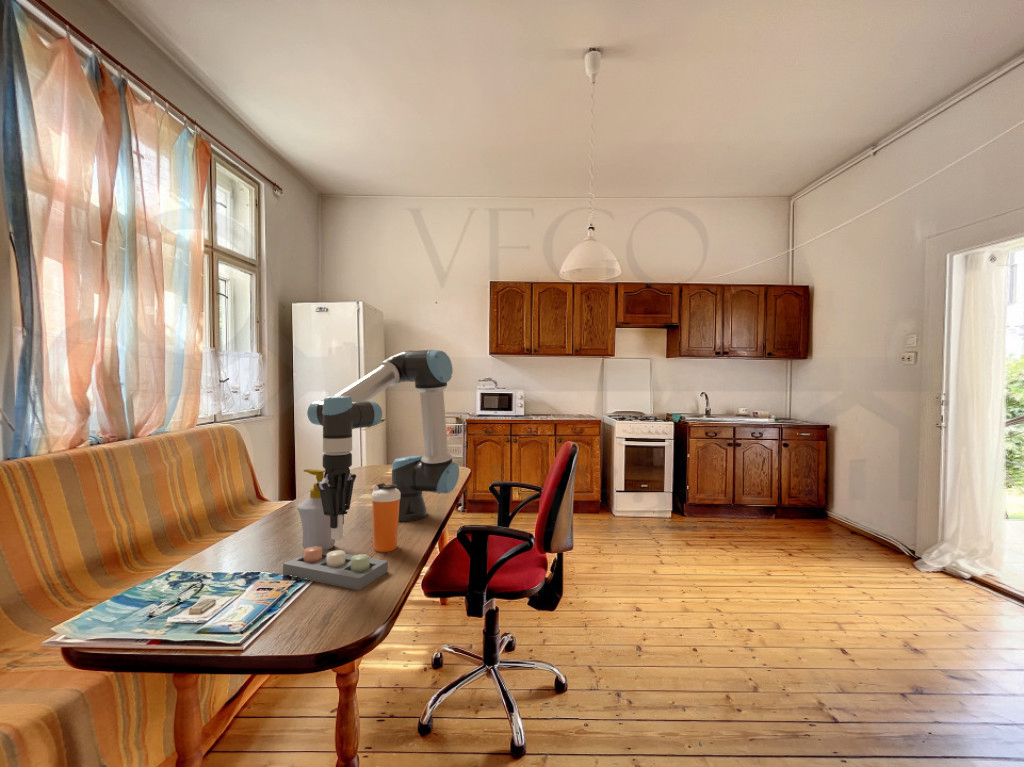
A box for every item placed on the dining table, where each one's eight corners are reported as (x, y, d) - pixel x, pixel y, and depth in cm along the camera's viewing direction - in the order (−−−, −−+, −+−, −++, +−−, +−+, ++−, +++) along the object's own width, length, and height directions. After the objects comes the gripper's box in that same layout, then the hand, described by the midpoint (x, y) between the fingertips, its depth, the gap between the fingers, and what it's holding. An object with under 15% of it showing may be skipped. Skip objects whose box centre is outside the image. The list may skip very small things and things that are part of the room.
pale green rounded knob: (358, 567, 125) (358, 553, 125) (373, 570, 123) (373, 555, 123) (346, 574, 120) (346, 559, 120) (361, 577, 119) (361, 562, 119)
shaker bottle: (392, 554, 139) (392, 488, 139) (365, 551, 141) (365, 487, 140) (404, 544, 147) (405, 482, 147) (379, 542, 149) (379, 480, 149)
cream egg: (335, 563, 128) (335, 549, 128) (349, 566, 126) (349, 551, 126) (322, 570, 123) (322, 555, 123) (336, 572, 122) (337, 557, 122)
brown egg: (312, 559, 130) (312, 545, 130) (326, 561, 129) (326, 547, 129) (299, 565, 126) (299, 551, 126) (313, 568, 124) (313, 553, 124)
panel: (316, 558, 135) (316, 548, 135) (387, 571, 126) (387, 561, 126) (283, 574, 123) (283, 563, 123) (359, 590, 115) (359, 578, 115)
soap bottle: (313, 539, 151) (314, 465, 150) (348, 543, 148) (349, 467, 148) (287, 553, 138) (288, 472, 138) (324, 557, 136) (325, 474, 135)
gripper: (342, 448, 132) (342, 529, 132) (308, 455, 120) (308, 544, 120) (364, 450, 130) (363, 532, 130) (331, 457, 117) (330, 548, 117)
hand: (336, 538), depth 125 cm, fingers closed
